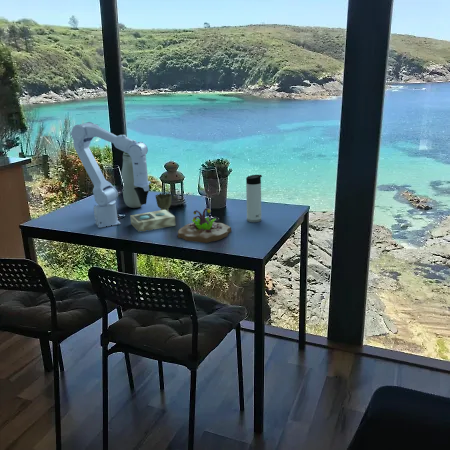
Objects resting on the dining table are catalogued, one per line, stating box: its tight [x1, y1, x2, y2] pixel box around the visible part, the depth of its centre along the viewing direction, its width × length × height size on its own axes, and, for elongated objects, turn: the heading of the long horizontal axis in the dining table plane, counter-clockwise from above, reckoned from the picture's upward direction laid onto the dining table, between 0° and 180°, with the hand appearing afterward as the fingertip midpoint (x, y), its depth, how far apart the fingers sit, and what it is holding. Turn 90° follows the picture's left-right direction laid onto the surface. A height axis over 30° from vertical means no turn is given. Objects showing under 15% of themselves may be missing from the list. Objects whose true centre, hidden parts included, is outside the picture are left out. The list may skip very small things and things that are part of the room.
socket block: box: [129, 209, 176, 232], centre depth 208 cm, size 16×12×4 cm
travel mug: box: [245, 174, 263, 223], centre depth 206 cm, size 6×7×20 cm
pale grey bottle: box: [120, 151, 143, 209], centre depth 230 cm, size 10×10×28 cm
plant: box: [177, 207, 232, 244], centre depth 194 cm, size 20×20×11 cm
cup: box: [154, 192, 173, 212], centre depth 225 cm, size 8×7×8 cm
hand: (143, 204), depth 204 cm, fingers closed
